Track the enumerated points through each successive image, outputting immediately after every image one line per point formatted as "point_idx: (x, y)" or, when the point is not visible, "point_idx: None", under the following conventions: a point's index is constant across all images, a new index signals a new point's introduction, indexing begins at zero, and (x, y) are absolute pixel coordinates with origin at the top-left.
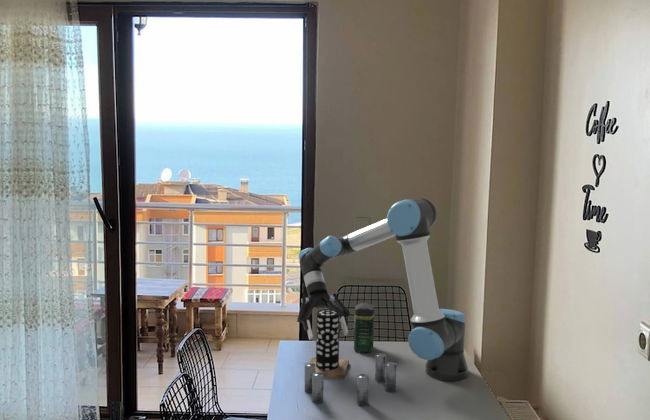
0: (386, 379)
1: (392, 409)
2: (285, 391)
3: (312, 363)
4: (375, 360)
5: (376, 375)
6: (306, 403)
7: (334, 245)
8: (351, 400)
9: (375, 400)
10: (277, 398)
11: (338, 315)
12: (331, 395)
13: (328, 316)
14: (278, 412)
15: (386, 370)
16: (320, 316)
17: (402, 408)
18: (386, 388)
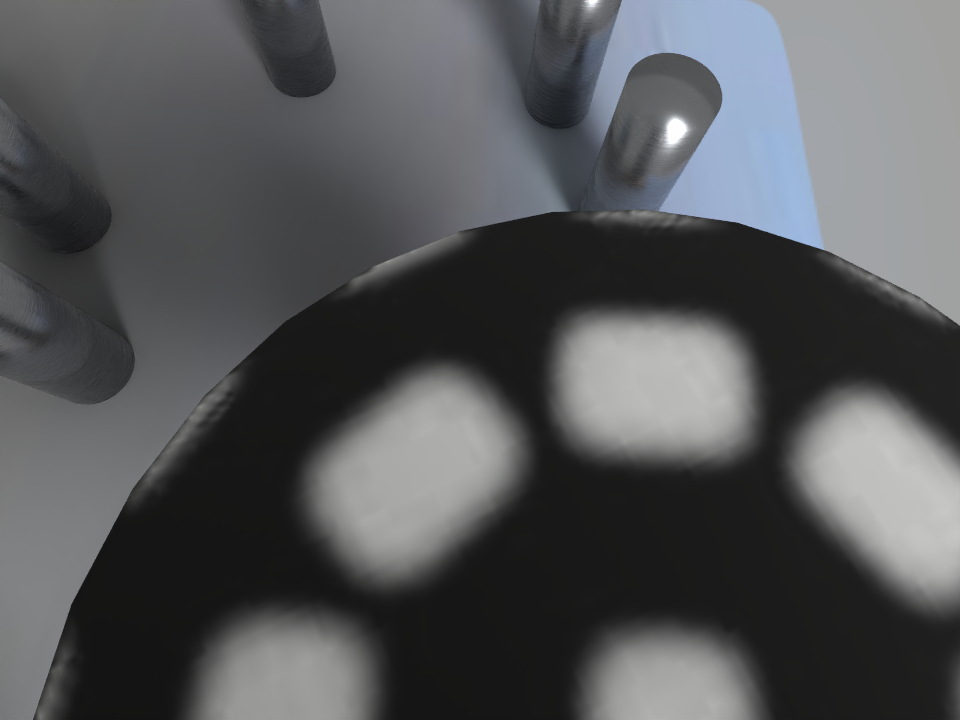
0: (57, 154)
1: (151, 12)
2: (764, 220)
3: (655, 119)
4: (21, 309)
5: (104, 330)
6: (619, 85)
7: None
8: (361, 105)
9: (218, 100)
10: (792, 141)
11: (169, 486)
12: (475, 163)
13: (614, 211)
14: (752, 13)
15: (4, 107)
16: (921, 339)
17: (92, 18)
18: (98, 195)
